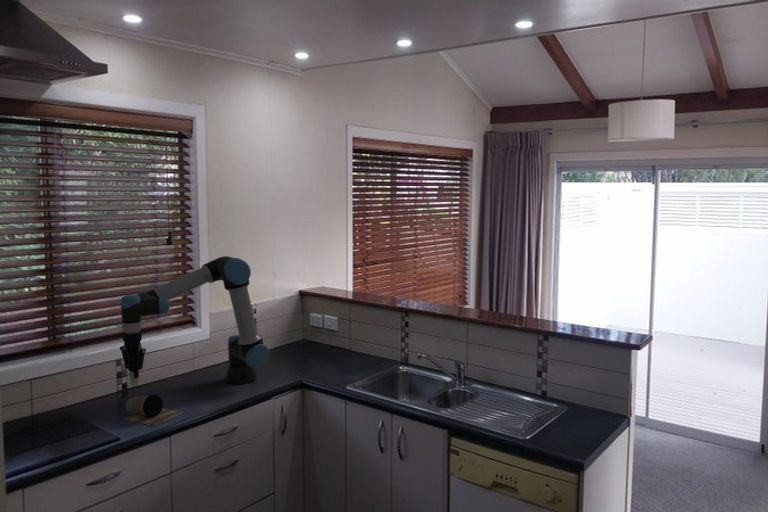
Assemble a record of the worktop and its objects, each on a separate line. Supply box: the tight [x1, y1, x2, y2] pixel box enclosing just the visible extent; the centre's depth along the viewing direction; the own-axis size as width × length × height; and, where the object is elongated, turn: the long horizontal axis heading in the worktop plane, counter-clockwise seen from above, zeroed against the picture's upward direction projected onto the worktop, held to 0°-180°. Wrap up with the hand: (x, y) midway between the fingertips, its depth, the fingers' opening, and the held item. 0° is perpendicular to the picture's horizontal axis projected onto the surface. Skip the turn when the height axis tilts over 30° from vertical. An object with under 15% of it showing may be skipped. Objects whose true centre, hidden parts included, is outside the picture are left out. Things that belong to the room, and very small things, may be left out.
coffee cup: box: [125, 393, 164, 417], centre depth 266 cm, size 9×9×15 cm
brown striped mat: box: [122, 407, 185, 427], centre depth 266 cm, size 18×16×1 cm
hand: (134, 385), depth 269 cm, fingers closed
